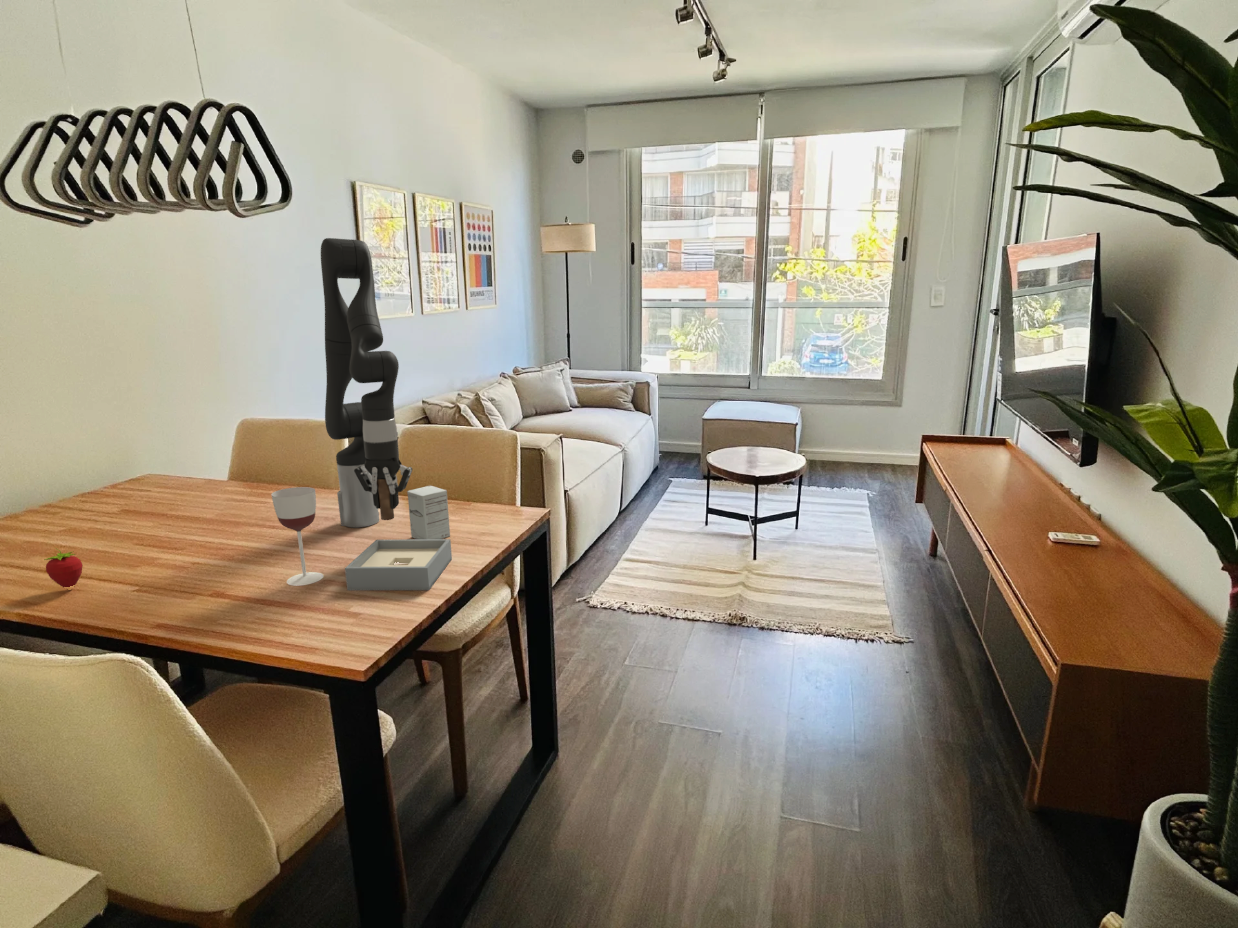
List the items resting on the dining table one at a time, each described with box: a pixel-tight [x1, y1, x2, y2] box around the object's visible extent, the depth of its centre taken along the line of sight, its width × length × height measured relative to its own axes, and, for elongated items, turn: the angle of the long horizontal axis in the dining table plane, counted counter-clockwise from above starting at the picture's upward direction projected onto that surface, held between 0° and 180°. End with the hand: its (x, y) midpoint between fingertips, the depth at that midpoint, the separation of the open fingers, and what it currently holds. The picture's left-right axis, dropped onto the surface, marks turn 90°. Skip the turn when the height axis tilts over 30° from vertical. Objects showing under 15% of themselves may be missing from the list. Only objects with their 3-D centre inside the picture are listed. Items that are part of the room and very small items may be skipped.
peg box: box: [344, 538, 453, 591], centre depth 154 cm, size 18×18×5 cm
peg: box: [378, 479, 395, 521], centre depth 165 cm, size 3×3×10 cm
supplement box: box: [406, 485, 451, 539], centre depth 177 cm, size 7×7×13 cm
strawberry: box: [44, 547, 83, 588], centre depth 148 cm, size 6×8×10 cm
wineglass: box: [271, 486, 324, 587], centre depth 151 cm, size 8×9×20 cm
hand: (386, 507), depth 165 cm, fingers closed on peg, 3 cm apart
